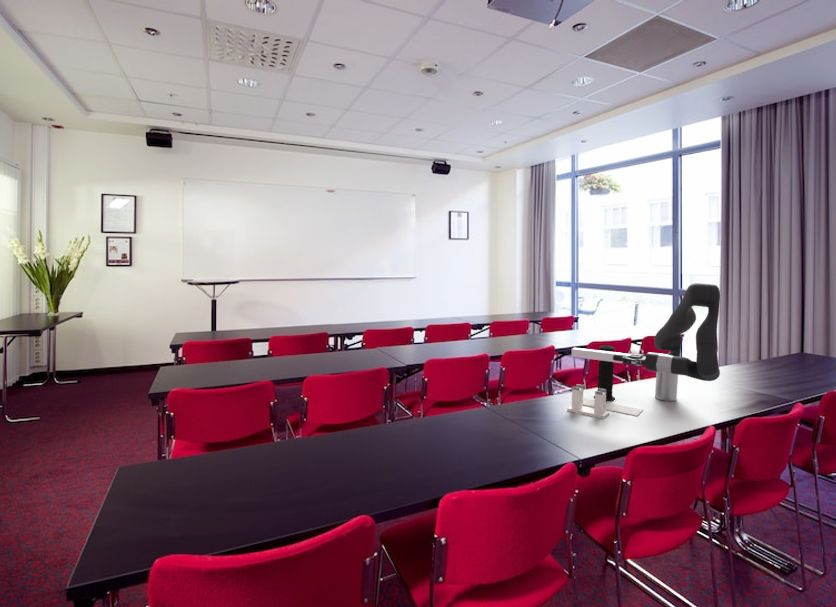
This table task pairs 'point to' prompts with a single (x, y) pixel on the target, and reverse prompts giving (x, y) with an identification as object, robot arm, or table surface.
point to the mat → (614, 407)
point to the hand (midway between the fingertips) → (614, 356)
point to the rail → (596, 354)
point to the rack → (578, 407)
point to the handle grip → (606, 374)
